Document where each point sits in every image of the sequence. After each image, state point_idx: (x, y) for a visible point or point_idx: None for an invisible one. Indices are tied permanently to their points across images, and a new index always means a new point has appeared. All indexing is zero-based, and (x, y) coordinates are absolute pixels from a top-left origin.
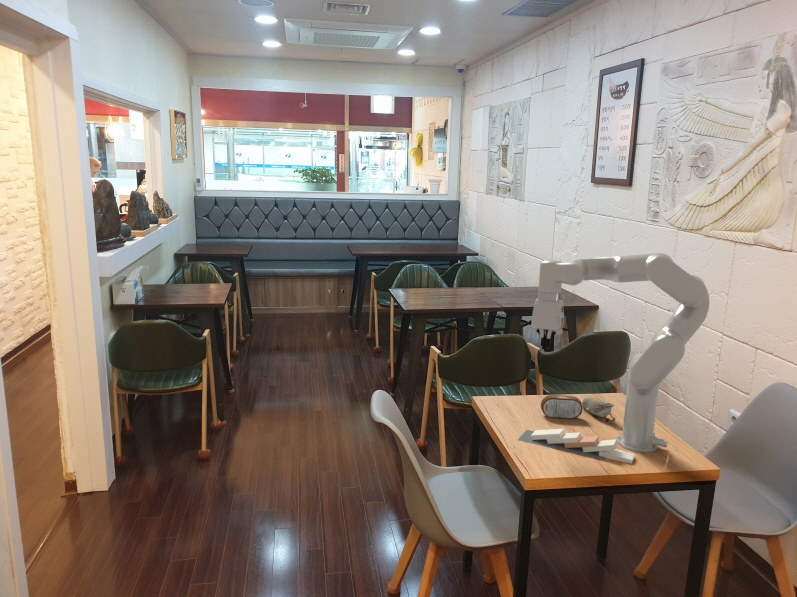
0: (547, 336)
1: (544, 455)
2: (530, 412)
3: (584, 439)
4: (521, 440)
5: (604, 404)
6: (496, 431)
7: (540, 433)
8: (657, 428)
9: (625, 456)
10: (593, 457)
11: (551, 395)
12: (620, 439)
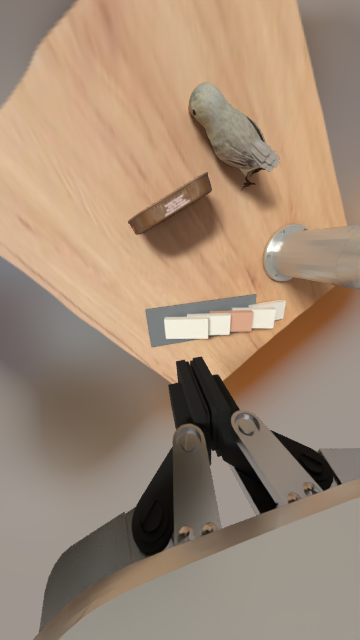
0: (235, 466)
1: (194, 357)
2: (107, 222)
3: (235, 322)
4: (156, 345)
5: (256, 155)
6: (112, 339)
7: (177, 333)
8: (321, 149)
9: (276, 315)
10: None
11: (149, 210)
12: (269, 262)
